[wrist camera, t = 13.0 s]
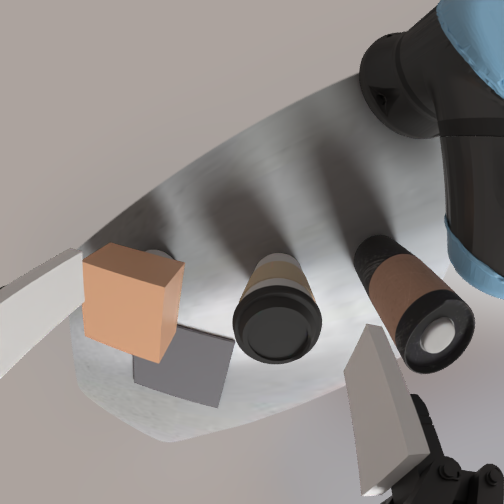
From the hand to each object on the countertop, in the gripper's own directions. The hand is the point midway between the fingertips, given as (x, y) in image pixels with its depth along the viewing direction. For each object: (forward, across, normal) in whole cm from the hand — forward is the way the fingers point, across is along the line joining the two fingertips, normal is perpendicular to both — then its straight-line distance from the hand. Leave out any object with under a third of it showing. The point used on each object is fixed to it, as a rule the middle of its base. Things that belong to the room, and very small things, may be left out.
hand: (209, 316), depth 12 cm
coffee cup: (+28, +4, -10) cm, 29 cm away
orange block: (+21, -13, -13) cm, 28 cm away
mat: (+27, -8, -30) cm, 41 cm away
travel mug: (+28, +17, -4) cm, 33 cm away
